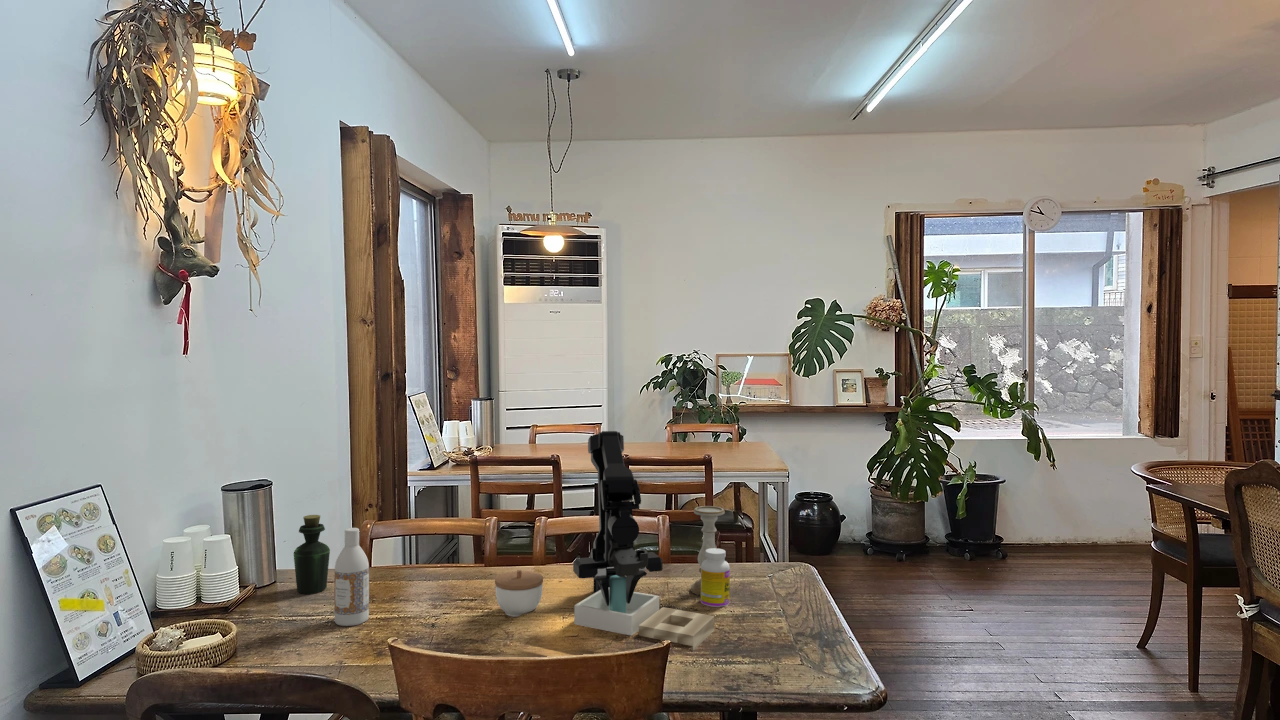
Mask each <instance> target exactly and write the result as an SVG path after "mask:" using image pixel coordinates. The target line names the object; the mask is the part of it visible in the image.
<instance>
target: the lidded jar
mask: <svg viewBox="0 0 1280 720" xmlns="http://www.w3.org/2000/svg"><path fill="white" fill-rule="evenodd" d="M543 583H544V576H543V575H542V574H541V573H538V572H535V571H527V570H520V569H518V570H515V571H508V572H505V573H501V574H499V575H498V576H496V577H495V578H494V584H495V587H494V589H495V597H496V602H497V604H498V606H499V608H500V609H501V610H502V611H503V612H504V613H505V615H506V616H509V617H513V618H518V617H520V616H522V615H524V614H527V613H531V612H532V611H534V610H536V608H538V606H539V604H540V602H541V599H542V597H543V596H542V595H543Z"/></svg>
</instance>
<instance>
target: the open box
mask: <svg viewBox="0 0 1280 720" xmlns="http://www.w3.org/2000/svg"><path fill="white" fill-rule="evenodd" d="M608 588H609V587H608ZM609 602H610V588H609ZM658 610H660V595H656V594H650V593H643V592H638V591H634V593H633V595H632V598H631V601H630V603H629V604H628V603H627V602H626V613H622V612H616V611H611V610H609V606H607V605H606V603H605V600H604V597H603V595H602V592H601V590H599V591H598V592H596V593H593V594H591V595H589V596H587V597H585V599H583V600H581V601H580V602H577V603H576V604H574V614H573V615H574V617H573V618H574V625H577V626H582V627H586V628H592V629H596V630H597V629H598V630H601V631H607V632H612V633H617V634H621V635H626V636H630V637H632V636H634V635H635V634H636V633H638V632H639V625H640V624H641V623H643V622H644V621H645V620H647V619H648V618H649V617H650V616H652V615H653V614H654V613H656V612H657V611H658Z"/></svg>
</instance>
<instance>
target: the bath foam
mask: <svg viewBox="0 0 1280 720" xmlns="http://www.w3.org/2000/svg"><path fill="white" fill-rule="evenodd" d="M369 564H370V563H369V559H368V557H367V555H366V553H365V551H364V550H363V548H362V547H361V546H360V529H359V528H358V527H349V528H345V529H344V547H343V548H342V550H341V551H340V553H339V554H338V556H337V558H336V561H335V565H334V584H333V585H334V587H333V588H334V594H333V595H334V602H333V603H334V608H333V609H334V623H335V624H336V625H338V626H341V627H353V626H357V625H362V624H363V623H365V622H367V621H368V620H369V618H370V613H369V612H370V565H369Z"/></svg>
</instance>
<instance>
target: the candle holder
mask: <svg viewBox="0 0 1280 720" xmlns="http://www.w3.org/2000/svg"><path fill="white" fill-rule="evenodd" d="M693 513H694V514H695V515H697V516H700V520H701V521H702V523H703V526H702V528H701V530H700V531H701V532H702V533H703V534H702V537H703V538H702V539H703V540H702V546H701V548H700V551H699V552H698V555H697V563H698V564H699V565H700V568H699V569H698V572H699V573H700V574H701V564H702V562H703V561H705V560H706V556H705V552H706V550H707V549H711V548H717V547H716V546H717V545H716V542H715V541H716V539H715V538H716V537H715V535H716V532H717V531H718V530H717V528H716V526H715V525H716V524H715V523H716V522H717V520H718V518H719V517H720V516H723V515H725V513H726V512H725V509H724V508H723V507H720V506H713V505H702V506H696V507H695V508H694V509H693ZM690 592H691V593H692V594H694V595H696V596H700V597H701V578H699V579H696V580H695V582H694V583H692V584H691V586H690Z"/></svg>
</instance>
